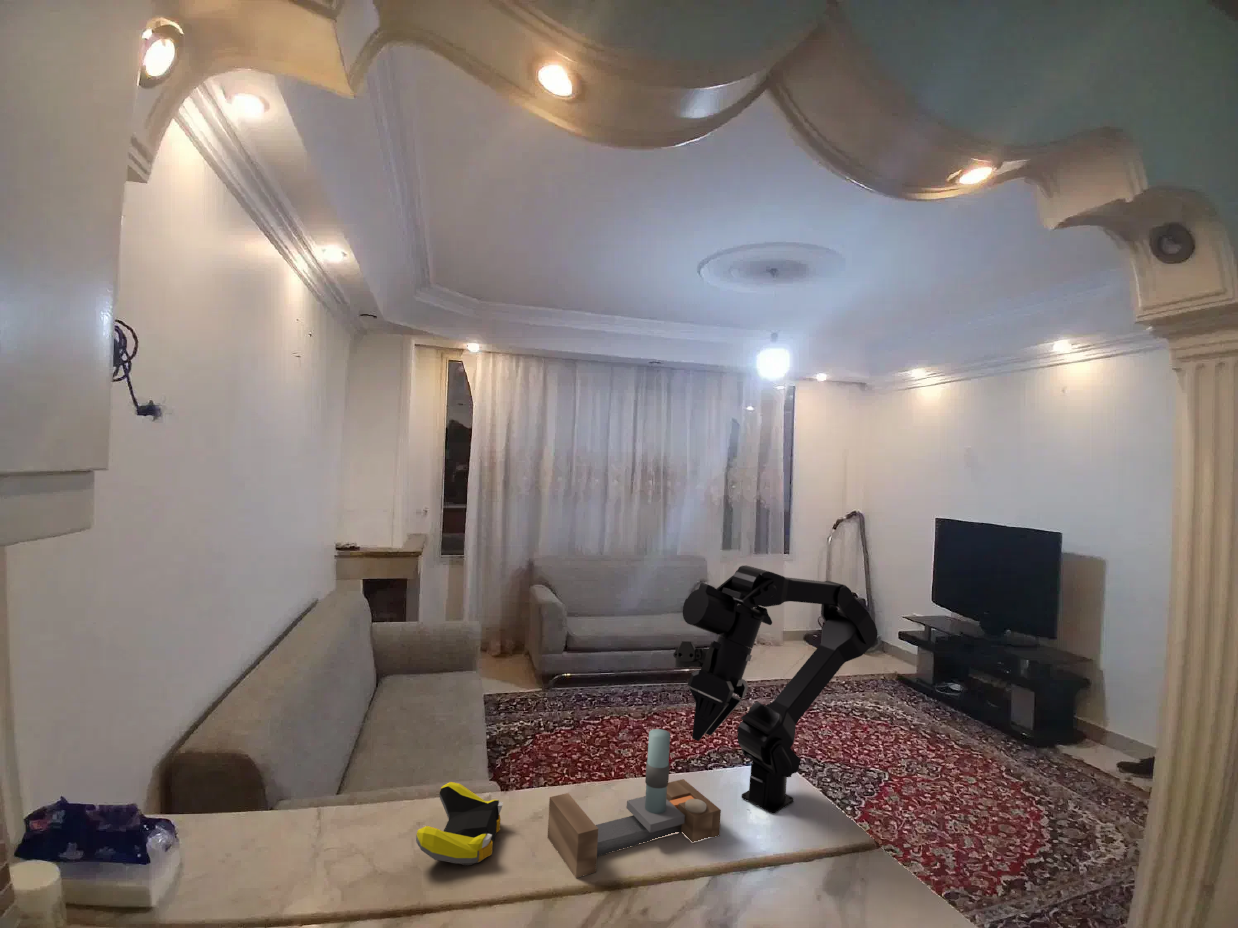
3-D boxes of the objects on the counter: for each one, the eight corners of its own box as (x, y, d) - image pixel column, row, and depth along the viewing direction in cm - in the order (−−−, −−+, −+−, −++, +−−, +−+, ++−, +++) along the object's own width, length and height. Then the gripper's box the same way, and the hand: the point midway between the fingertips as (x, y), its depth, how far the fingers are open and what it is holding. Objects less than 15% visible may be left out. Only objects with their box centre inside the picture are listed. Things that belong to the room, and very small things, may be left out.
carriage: (659, 799, 103) (663, 721, 102) (684, 823, 96) (689, 739, 96) (626, 808, 100) (631, 727, 100) (650, 832, 94) (654, 746, 93)
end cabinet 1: (566, 832, 97) (568, 792, 96) (595, 872, 88) (598, 828, 88) (547, 837, 95) (549, 796, 95) (575, 877, 86) (578, 833, 86)
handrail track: (687, 813, 104) (688, 801, 103) (702, 826, 100) (703, 813, 100) (561, 846, 93) (562, 833, 93) (573, 862, 89) (574, 848, 89)
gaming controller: (409, 874, 85) (485, 879, 85) (411, 833, 85) (487, 838, 85) (441, 812, 100) (505, 815, 100) (443, 777, 100) (507, 780, 100)
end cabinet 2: (682, 802, 107) (683, 775, 107) (719, 835, 98) (721, 806, 98) (656, 809, 104) (658, 781, 104) (692, 843, 95) (694, 813, 95)
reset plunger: (690, 804, 102) (690, 795, 102) (695, 808, 101) (695, 799, 101) (668, 809, 100) (669, 800, 100) (673, 814, 99) (674, 805, 99)
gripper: (701, 626, 116) (670, 711, 113) (675, 619, 99) (639, 718, 97) (760, 651, 111) (730, 739, 109) (744, 647, 95) (707, 752, 92)
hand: (701, 736), depth 102 cm, fingers open, 9 cm apart
